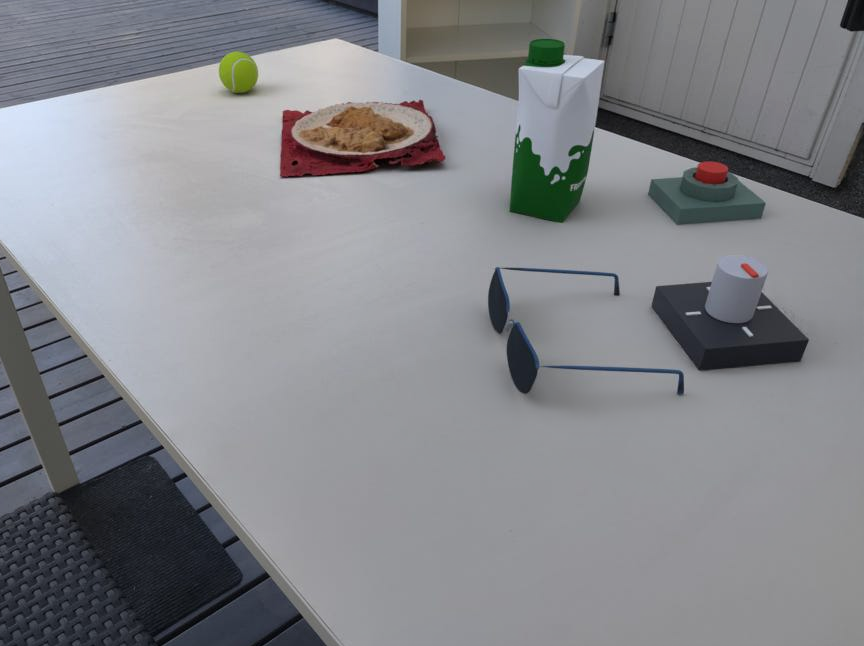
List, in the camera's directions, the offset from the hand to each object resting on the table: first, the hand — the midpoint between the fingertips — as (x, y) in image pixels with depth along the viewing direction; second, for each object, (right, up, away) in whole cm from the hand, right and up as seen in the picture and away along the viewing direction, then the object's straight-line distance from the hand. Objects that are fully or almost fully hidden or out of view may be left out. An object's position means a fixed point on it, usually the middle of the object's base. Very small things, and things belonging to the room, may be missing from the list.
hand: (858, 28), depth 76 cm
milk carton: (-28, -14, +21) cm, 37 cm away
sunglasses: (-30, -33, -4) cm, 45 cm away
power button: (-8, -11, +18) cm, 22 cm away
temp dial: (-15, -29, -4) cm, 33 cm away
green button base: (-8, -14, +20) cm, 25 cm away
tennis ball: (-75, +15, +61) cm, 98 cm away
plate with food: (-53, 0, +40) cm, 66 cm away
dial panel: (-15, -31, -3) cm, 35 cm away
